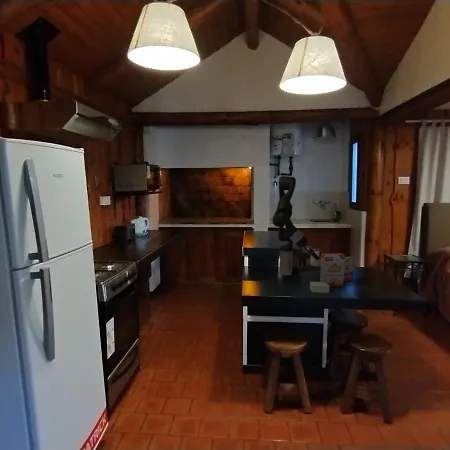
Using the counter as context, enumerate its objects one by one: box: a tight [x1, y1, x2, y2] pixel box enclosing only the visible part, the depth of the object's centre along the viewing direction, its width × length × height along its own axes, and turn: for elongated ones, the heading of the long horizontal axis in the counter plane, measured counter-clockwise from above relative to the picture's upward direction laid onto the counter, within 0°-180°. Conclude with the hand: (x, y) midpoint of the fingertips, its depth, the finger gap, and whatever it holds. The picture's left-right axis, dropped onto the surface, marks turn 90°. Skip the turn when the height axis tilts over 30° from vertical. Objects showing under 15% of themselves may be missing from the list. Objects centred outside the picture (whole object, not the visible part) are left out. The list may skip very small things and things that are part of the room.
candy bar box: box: [343, 256, 355, 283], centre depth 262 cm, size 11×5×16 cm, turn 112°
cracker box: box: [319, 252, 346, 288], centre depth 249 cm, size 14×6×21 cm, turn 101°
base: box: [309, 281, 330, 294], centre depth 239 cm, size 10×10×4 cm
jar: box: [309, 247, 320, 267], centre depth 237 cm, size 5×5×10 cm
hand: (317, 258), depth 237 cm, fingers closed on jar, 5 cm apart
